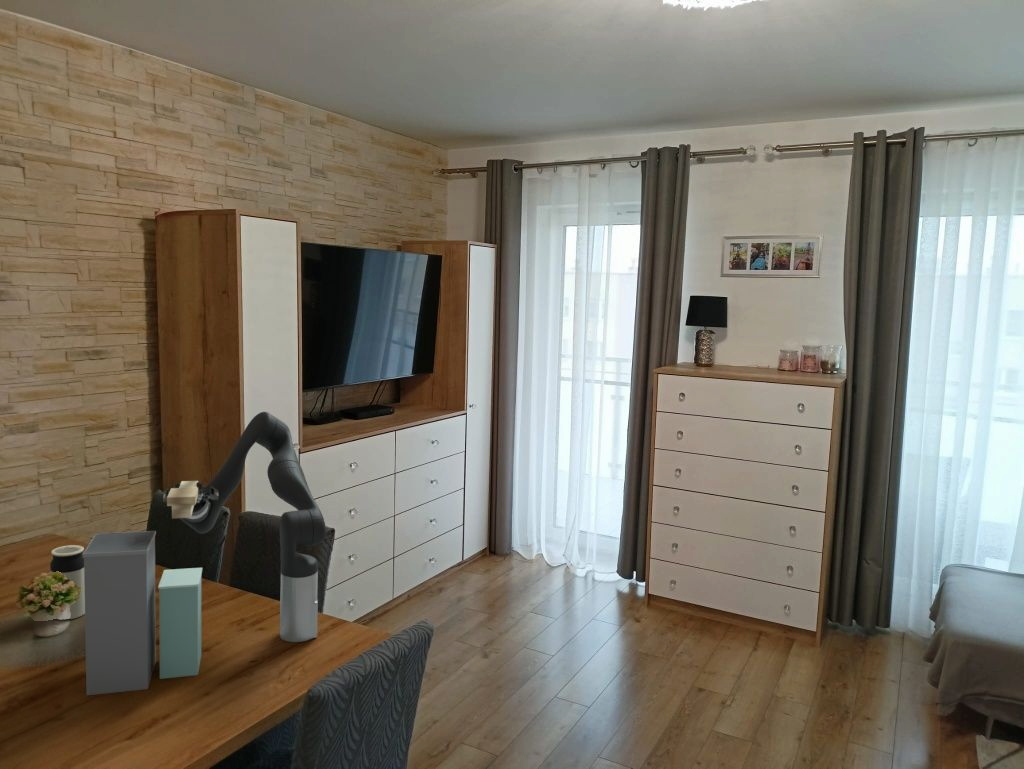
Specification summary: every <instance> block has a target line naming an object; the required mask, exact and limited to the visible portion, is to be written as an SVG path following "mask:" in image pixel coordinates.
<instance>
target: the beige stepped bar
mask: <svg viewBox="0 0 1024 769" xmlns="http://www.w3.org/2000/svg"><path fill="white" fill-rule="evenodd" d="M197 482H199V480H182V481H181V482H180V484H181V485H180V486H179V488H174V487H173V488H171V490H170V492H169V494H168V497H167V502H166V507H171V519H180V518H191V515H192V512H193V508H194V505H196V501H197V498H198V487H197Z"/></svg>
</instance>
